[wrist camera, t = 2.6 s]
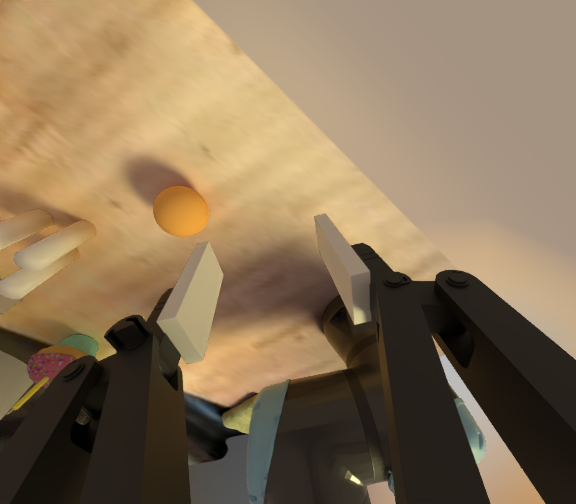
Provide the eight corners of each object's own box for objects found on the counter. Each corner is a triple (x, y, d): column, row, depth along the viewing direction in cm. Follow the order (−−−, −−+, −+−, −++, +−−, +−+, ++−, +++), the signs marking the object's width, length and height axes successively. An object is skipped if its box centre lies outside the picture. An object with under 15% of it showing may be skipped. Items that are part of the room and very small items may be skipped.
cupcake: (41, 332, 37) (-45, 413, 26) (91, 321, 37) (26, 397, 26) (76, 364, 41) (14, 444, 31) (121, 353, 41) (74, 430, 31)
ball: (202, 176, 28) (189, 187, 23) (219, 220, 31) (211, 238, 26) (155, 187, 28) (132, 200, 23) (176, 230, 31) (160, 250, 26)
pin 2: (71, 242, 30) (11, 278, 23) (83, 257, 31) (30, 296, 24) (54, 246, 30) (-11, 284, 23) (66, 260, 31) (8, 301, 24)
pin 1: (44, 207, 28) (-33, 235, 20) (57, 224, 29) (-10, 257, 22) (25, 211, 28) (-59, 241, 20) (39, 228, 29) (-35, 263, 22)
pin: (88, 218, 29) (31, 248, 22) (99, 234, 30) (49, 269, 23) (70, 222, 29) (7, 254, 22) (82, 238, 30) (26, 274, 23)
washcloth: (267, 432, 63) (267, 447, 60) (219, 411, 55) (217, 426, 52) (304, 412, 60) (306, 426, 57) (259, 387, 52) (259, 402, 49)
